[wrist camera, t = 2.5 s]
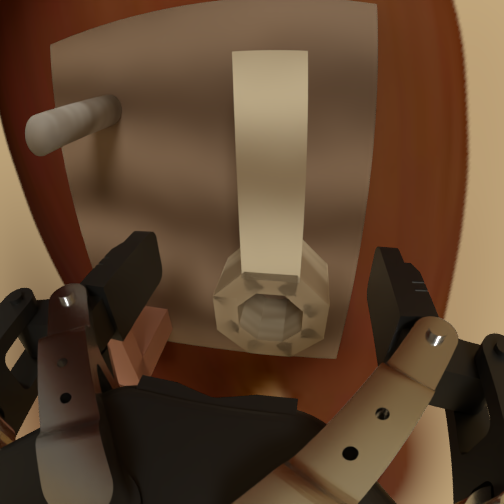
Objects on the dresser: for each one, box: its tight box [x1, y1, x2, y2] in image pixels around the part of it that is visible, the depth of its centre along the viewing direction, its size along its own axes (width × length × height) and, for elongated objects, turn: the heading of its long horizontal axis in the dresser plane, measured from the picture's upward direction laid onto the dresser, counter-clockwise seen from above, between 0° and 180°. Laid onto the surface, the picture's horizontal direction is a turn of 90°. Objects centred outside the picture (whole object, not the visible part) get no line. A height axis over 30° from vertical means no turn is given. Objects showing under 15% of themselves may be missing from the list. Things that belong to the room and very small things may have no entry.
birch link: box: [212, 50, 330, 357], centre depth 15 cm, size 15×6×4 cm, turn 2°
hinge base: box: [25, 0, 378, 359], centre depth 15 cm, size 22×18×6 cm
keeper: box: [108, 306, 173, 386], centre depth 18 cm, size 7×3×6 cm, turn 2°
